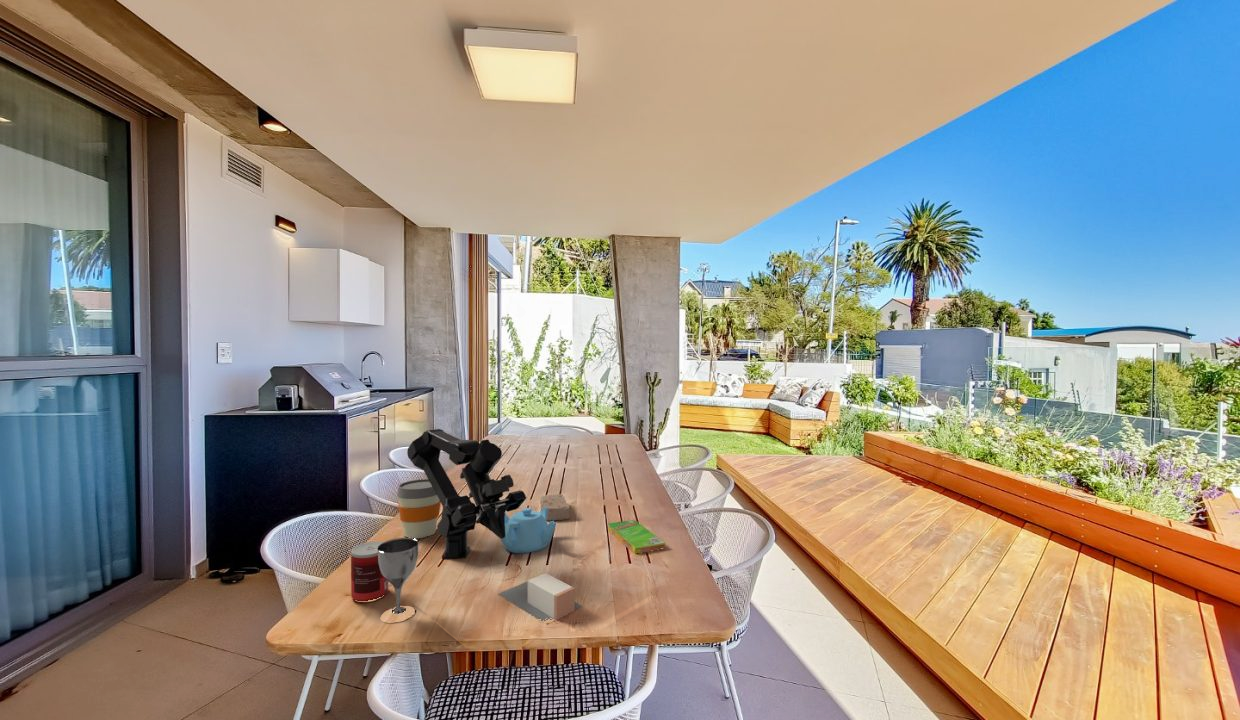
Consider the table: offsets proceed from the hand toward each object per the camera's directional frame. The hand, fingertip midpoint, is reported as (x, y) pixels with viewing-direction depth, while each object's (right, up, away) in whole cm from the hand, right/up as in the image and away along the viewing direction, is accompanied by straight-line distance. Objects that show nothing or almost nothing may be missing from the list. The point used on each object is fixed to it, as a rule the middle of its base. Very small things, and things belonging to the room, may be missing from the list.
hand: (503, 537), depth 120 cm
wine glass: (-19, -11, -15) cm, 27 cm away
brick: (+6, -10, +50) cm, 51 cm away
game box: (+33, -11, +28) cm, 45 cm away
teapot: (+2, -10, +22) cm, 24 cm away
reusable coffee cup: (-33, -10, +30) cm, 45 cm away
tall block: (+10, -8, -9) cm, 15 cm away
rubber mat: (+10, -11, -9) cm, 18 cm away
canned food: (-29, -11, -7) cm, 32 cm away
